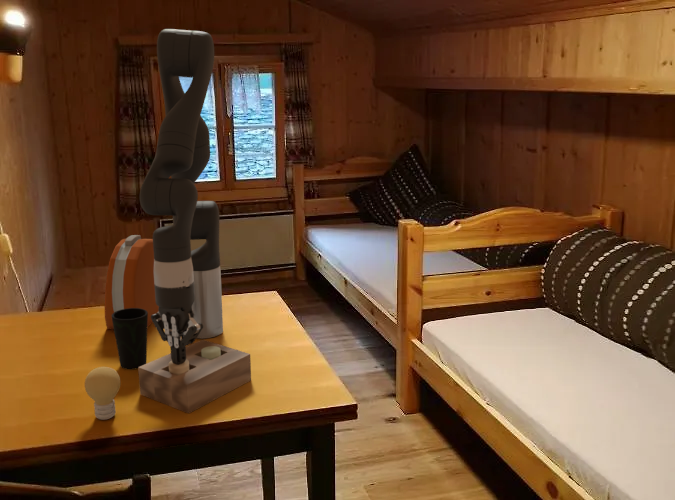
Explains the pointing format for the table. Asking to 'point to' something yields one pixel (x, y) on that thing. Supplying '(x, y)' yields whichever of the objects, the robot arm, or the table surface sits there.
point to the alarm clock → (131, 278)
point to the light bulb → (103, 390)
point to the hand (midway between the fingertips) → (179, 362)
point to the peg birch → (179, 367)
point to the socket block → (195, 377)
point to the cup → (131, 336)
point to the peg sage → (211, 352)
